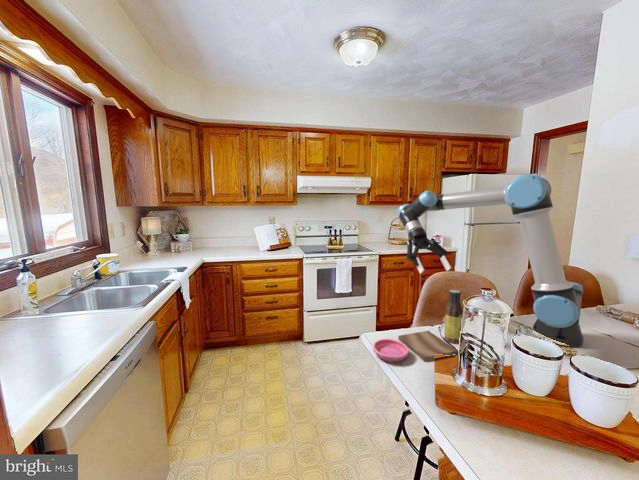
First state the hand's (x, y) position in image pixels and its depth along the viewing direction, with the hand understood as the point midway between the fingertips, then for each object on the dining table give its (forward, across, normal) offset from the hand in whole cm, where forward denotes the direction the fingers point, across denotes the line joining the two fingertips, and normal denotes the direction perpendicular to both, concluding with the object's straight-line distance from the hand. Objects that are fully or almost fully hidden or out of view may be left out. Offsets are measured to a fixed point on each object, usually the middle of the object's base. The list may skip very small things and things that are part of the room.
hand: (435, 270), depth 115 cm
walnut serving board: (+27, +14, -8) cm, 32 cm away
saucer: (+28, +30, -8) cm, 42 cm away
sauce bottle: (+27, +1, -9) cm, 28 cm away
